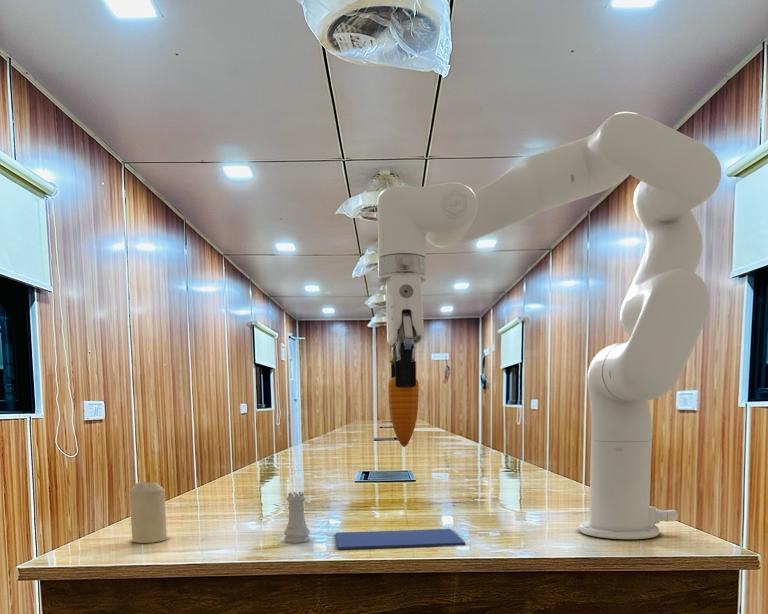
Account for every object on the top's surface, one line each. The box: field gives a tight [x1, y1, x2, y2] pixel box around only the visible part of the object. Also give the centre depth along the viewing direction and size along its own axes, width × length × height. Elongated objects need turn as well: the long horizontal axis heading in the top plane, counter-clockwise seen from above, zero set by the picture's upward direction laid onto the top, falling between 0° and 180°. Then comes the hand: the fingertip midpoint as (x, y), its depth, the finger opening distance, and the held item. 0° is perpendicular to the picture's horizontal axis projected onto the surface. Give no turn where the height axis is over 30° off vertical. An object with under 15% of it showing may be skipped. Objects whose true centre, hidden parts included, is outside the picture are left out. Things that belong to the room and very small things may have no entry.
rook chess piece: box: [283, 491, 312, 544], centre depth 108 cm, size 4×4×8 cm
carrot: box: [387, 358, 420, 448], centre depth 106 cm, size 5×5×15 cm
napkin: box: [335, 528, 466, 551], centre depth 108 cm, size 20×12×1 cm, turn 96°
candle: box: [129, 480, 168, 544], centre depth 111 cm, size 6×6×10 cm
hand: (403, 386), depth 106 cm, fingers closed on carrot, 4 cm apart
